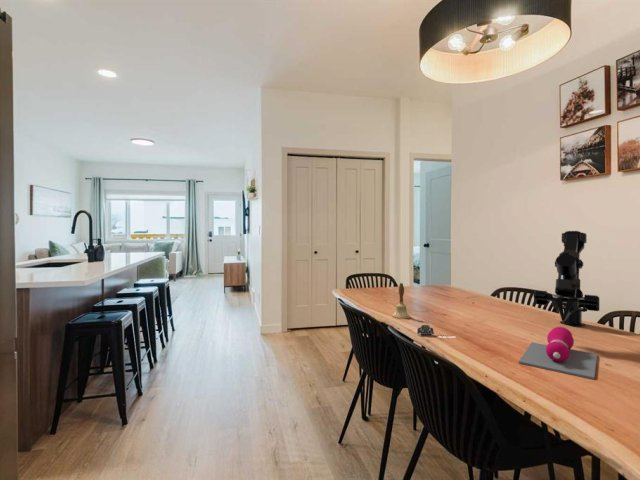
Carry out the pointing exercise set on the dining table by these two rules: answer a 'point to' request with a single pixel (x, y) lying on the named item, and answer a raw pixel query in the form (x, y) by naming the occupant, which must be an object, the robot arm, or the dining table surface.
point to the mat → (574, 365)
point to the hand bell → (401, 305)
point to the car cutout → (429, 331)
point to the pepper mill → (559, 344)
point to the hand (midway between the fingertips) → (563, 320)
